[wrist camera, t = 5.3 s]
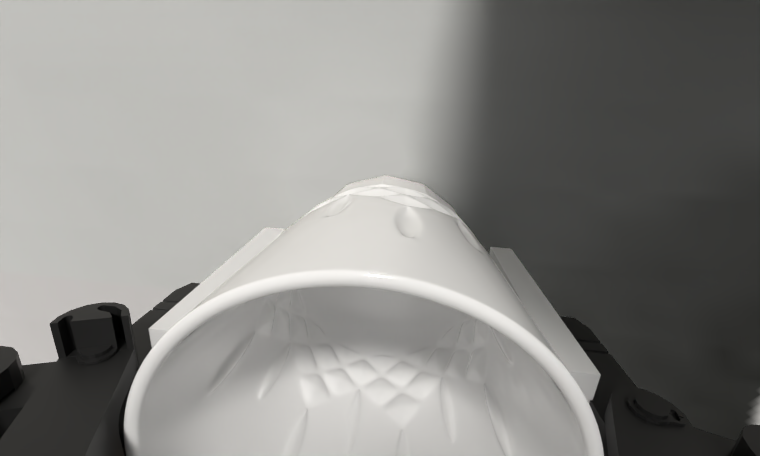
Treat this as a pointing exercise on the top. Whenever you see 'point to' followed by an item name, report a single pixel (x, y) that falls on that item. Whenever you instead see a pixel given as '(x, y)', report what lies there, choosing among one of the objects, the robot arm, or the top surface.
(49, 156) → the top surface
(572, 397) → the white cup
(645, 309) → the top surface
